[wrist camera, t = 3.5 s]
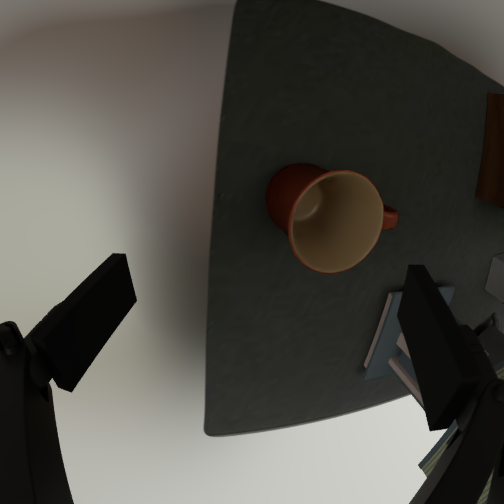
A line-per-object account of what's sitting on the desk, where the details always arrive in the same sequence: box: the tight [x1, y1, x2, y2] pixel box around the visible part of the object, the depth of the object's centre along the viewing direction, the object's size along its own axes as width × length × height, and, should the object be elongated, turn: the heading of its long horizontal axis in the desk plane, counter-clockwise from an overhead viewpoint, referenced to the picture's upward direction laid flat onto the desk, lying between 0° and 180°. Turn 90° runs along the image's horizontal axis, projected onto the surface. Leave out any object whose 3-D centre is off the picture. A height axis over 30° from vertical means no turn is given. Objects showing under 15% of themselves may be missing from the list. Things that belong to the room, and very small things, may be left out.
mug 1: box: [266, 163, 399, 274], centre depth 29 cm, size 12×9×10 cm
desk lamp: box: [362, 285, 504, 504], centre depth 32 cm, size 18×14×33 cm
